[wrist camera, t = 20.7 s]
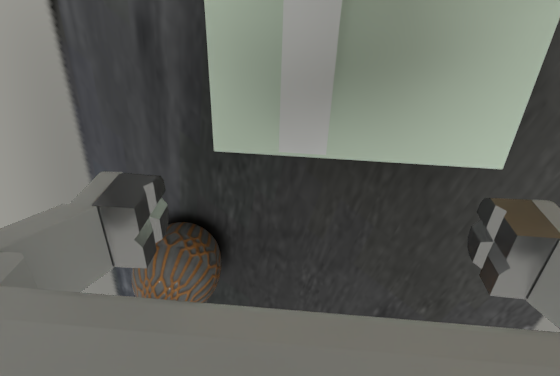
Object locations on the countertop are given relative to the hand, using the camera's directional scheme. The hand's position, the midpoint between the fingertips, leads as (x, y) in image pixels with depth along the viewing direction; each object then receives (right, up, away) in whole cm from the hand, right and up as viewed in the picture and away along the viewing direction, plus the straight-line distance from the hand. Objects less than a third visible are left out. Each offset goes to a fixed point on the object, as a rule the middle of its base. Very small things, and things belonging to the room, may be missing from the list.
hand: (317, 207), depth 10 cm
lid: (+5, +9, +16) cm, 19 cm away
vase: (-9, -4, +25) cm, 27 cm away
